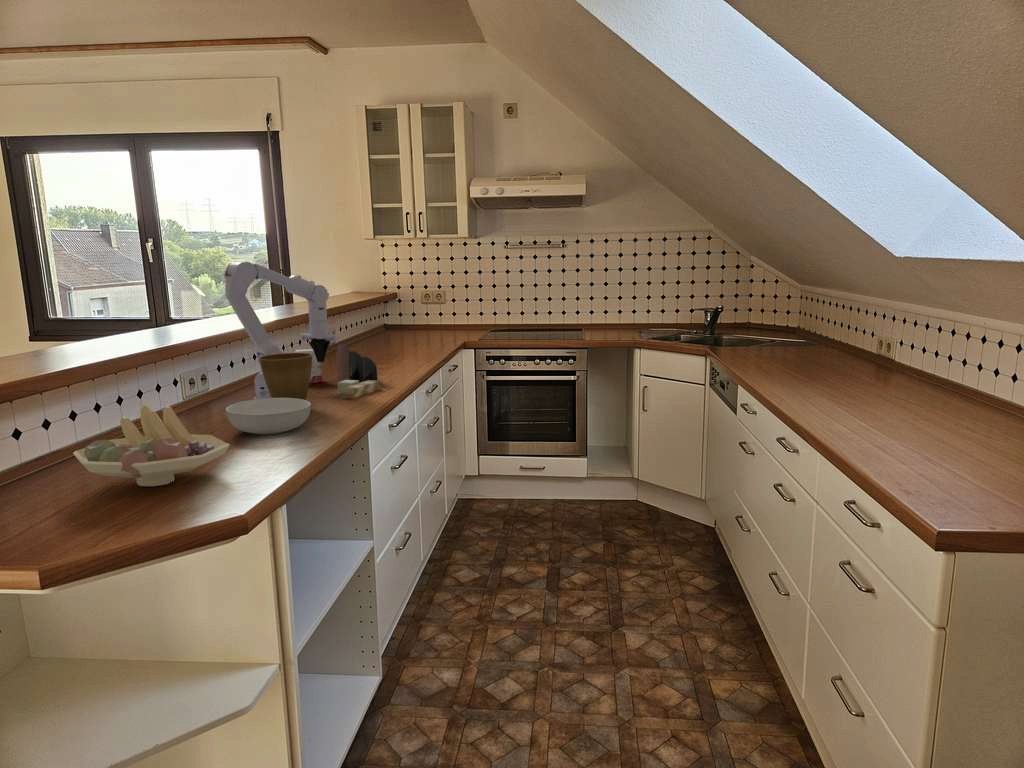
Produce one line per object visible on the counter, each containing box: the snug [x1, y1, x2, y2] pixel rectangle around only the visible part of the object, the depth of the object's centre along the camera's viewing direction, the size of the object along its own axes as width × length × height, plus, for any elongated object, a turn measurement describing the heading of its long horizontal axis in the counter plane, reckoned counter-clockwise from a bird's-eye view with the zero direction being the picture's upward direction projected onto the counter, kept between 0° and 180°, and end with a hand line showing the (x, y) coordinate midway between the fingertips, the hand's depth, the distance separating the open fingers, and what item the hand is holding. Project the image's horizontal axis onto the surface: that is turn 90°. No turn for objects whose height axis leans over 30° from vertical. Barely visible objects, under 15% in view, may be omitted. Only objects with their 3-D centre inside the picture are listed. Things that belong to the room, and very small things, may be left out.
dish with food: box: [72, 404, 231, 487], centre depth 142 cm, size 28×28×14 cm
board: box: [341, 380, 380, 399], centre depth 230 cm, size 16×4×3 cm, turn 159°
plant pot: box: [259, 352, 312, 400], centre depth 208 cm, size 15×15×16 cm
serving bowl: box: [225, 398, 312, 436], centre depth 183 cm, size 21×21×7 cm
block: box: [337, 380, 359, 395], centre depth 231 cm, size 5×5×4 cm
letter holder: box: [337, 343, 379, 383], centre depth 248 cm, size 10×20×14 cm, turn 24°
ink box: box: [293, 348, 323, 384], centre depth 250 cm, size 9×5×12 cm, turn 103°
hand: (320, 361), depth 235 cm, fingers closed
